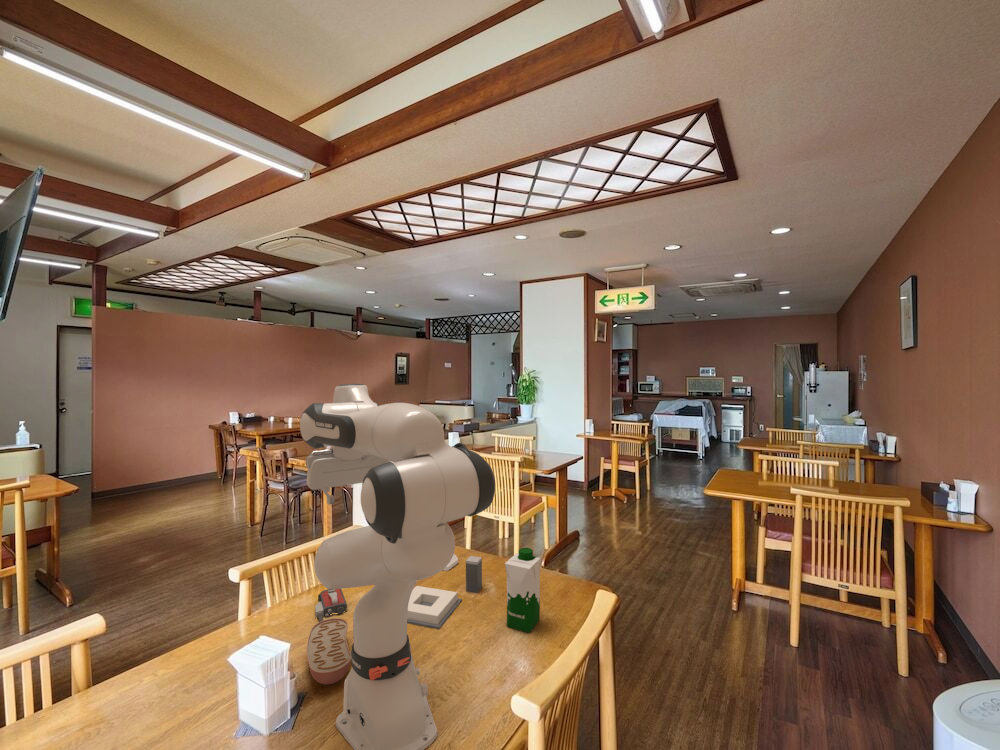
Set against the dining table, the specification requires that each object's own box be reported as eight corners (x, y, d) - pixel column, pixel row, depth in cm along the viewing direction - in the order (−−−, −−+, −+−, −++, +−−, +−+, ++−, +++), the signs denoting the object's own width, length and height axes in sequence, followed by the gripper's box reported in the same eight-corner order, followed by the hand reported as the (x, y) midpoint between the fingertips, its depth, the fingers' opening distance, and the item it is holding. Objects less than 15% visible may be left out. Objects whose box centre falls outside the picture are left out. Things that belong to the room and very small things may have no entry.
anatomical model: (353, 687, 105) (352, 666, 104) (305, 699, 101) (305, 677, 101) (347, 633, 126) (346, 615, 126) (307, 641, 122) (307, 623, 122)
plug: (482, 587, 151) (481, 557, 150) (477, 593, 147) (477, 562, 147) (470, 585, 152) (470, 555, 152) (466, 591, 148) (465, 560, 148)
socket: (461, 600, 142) (461, 591, 142) (439, 629, 127) (439, 618, 127) (415, 593, 147) (415, 583, 147) (388, 619, 132) (388, 609, 132)
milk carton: (543, 619, 132) (543, 550, 131) (530, 636, 124) (530, 562, 123) (516, 612, 136) (515, 544, 135) (501, 627, 128) (501, 556, 127)
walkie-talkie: (311, 601, 144) (318, 634, 126) (311, 587, 143) (318, 618, 126) (341, 594, 148) (352, 625, 130) (340, 580, 148) (351, 610, 130)
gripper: (308, 455, 107) (308, 512, 108) (393, 446, 118) (392, 498, 119) (303, 448, 112) (303, 503, 114) (385, 440, 123) (384, 490, 125)
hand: (349, 500), depth 117 cm, fingers open, 8 cm apart
